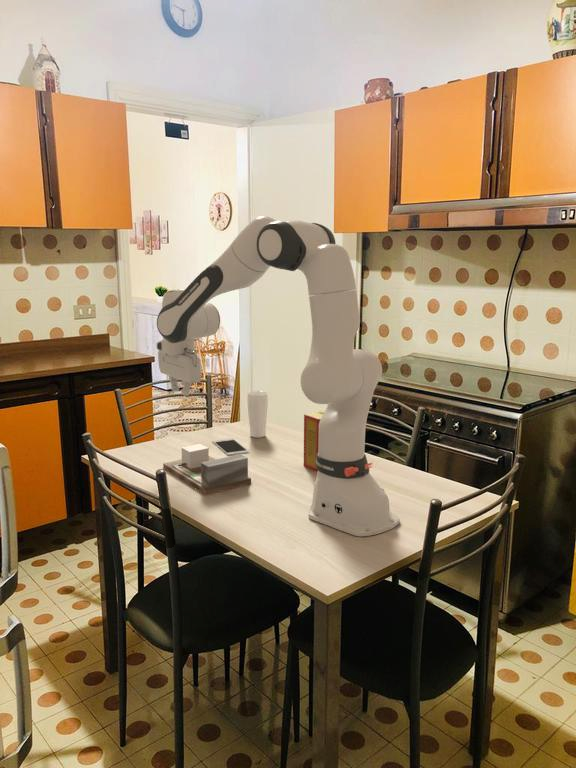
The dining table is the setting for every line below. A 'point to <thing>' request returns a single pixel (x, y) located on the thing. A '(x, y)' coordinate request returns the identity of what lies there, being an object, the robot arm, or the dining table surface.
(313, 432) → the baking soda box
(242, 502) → the dining table surface
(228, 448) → the smartphone
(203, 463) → the grey stepped block
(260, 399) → the white travel tumbler
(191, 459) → the white rectangular block
